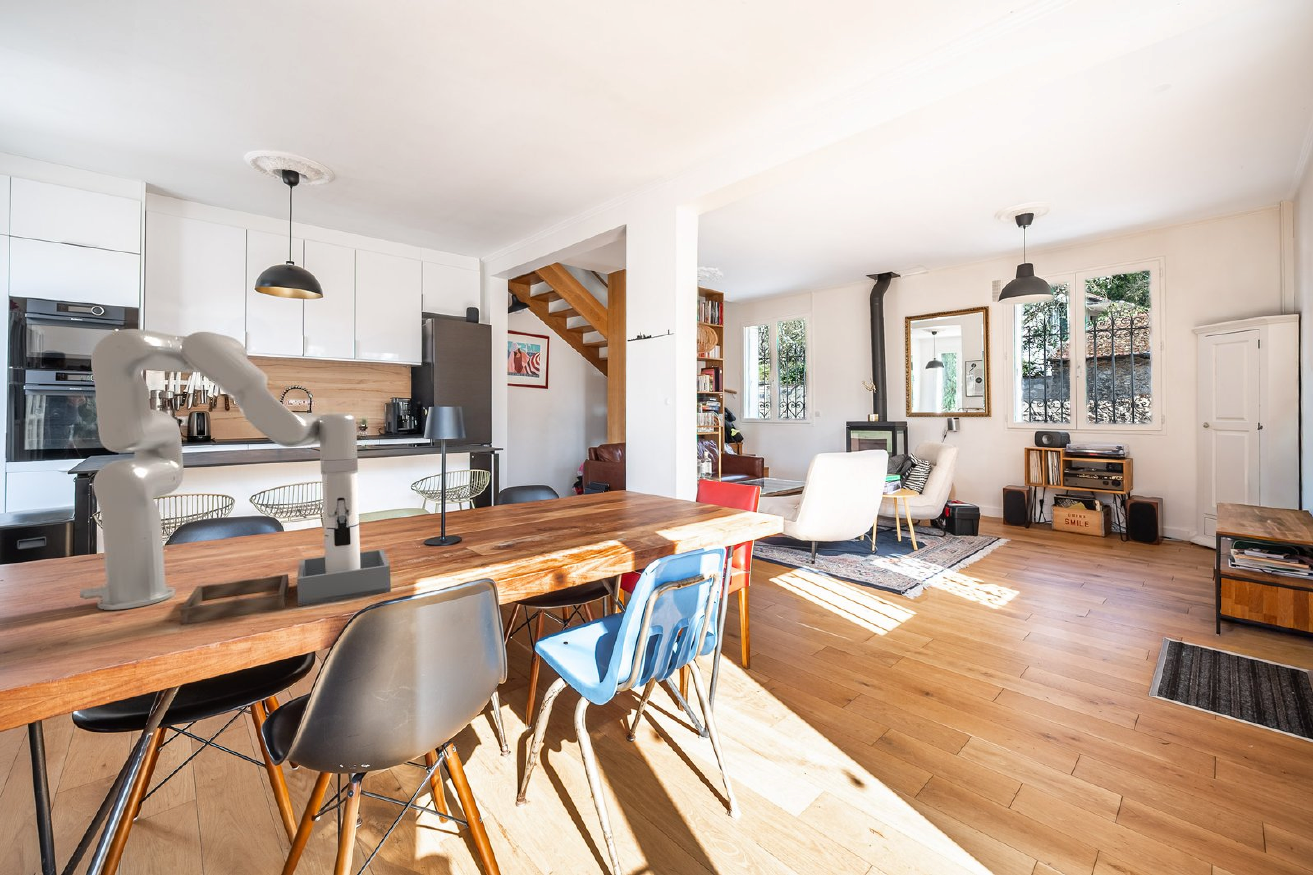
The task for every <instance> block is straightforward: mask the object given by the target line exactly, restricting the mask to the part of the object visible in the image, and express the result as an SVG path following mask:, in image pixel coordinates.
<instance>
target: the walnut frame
mask: <svg viewBox="0 0 1313 875" xmlns="http://www.w3.org/2000/svg"><path fill="white" fill-rule="evenodd" d="M289 581H290V580H289V573H287V574H279V575H271V576H264V577H263V576H262V577H256V578H250V579H249V578H248V579H243V580H242V579H241V580H233V581H227V582H220V583H212V584H204V585H198V586H196V587H195V588H194V590H193V591H192V592H191V594H190V596H189V597H188V599H187V600H185V603H184V604H183V605H182V607H181V608H180V610H179V611H180V615H179V616H180V625H187V624H188V625H189V624H191V623H193V624H194V623H200V622H207V621H211V620H219V619H224V618H225V619H226V618H229V617H230V618H231V617H237V616H238V617H239V616H243V615H249V614H254V613H255V614H256V613H262V612H268V611H274V610H280V609H285V608H286V602H287V598H288V594H289V593H288V592H289V588H290V585H289V584H290V582H289ZM274 590H278V593H274V594H267V595H260V596H253V597H246V598H241V599H235V600H234V599H233V600H227V601H226V600H225V601H221V602H214V603H207V604H202V602H203V601H208V600H211V599H212V600H213V599H218V598H225V597H226V598H227V597H233V596H239V595H247V594H254V593H260V592H266V591H267V592H268V591H274Z"/></svg>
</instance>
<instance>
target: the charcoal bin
mask: <svg viewBox="0 0 1313 875" xmlns="http://www.w3.org/2000/svg"><path fill="white" fill-rule="evenodd" d="M296 576H297V578H296V587H297V604H298V605H297V606H298V607H302V605H304V606H308V605H307V604H310V605H315V604H321V603H328V602H329V603H330V602H334V601H333V600H335V601H342V600H347V599H353V598H352V597H354V598H358V597H357V596H360V597H364V596H363V595H366V596H371V595H372V596H373V595H376V594H377V595H378V594H384V592H385V593H391V592H392V587H391V566H390V563H389V561H388V558H387V555H386V553H385V550H384V549H383V548H382V549H373V550H365V551H360V569H356V570H349V571H341V572H334V573H327V574H326V567H325V555H324V556H318V557H311V558H302V559H299V564H298V571H297V575H296ZM390 591H391V592H390Z"/></svg>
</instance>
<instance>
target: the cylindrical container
mask: <svg viewBox="0 0 1313 875" xmlns="http://www.w3.org/2000/svg"><path fill="white" fill-rule="evenodd" d="M351 478H352V513H351V515H350V516H349V517H348V518H349V527H350V540H351V544H350V545H344V546H335V543H334V529H335V517H334V516H335V513H334V515H333V516H331V518H329V517H328V516H327V475H324V474H321V481H322V482H321V483H322V484H321V485H322V508H323V510H322V511H323V533H324V535H323V536H324V556H325V567H326V574H327V573H334V572H341V571H349V570H356V569H360V552H361V546H360V545H361V544H360V541H361V540H360V521H359V517H360V516H359V513H360V512H359V488H358V487H359V486H358V472H356V473H351ZM337 500H338V499H337ZM344 507H345V500H344ZM346 509H347V508H346V507H345V514H346ZM348 513H349V510H348ZM336 515H339V510H338V508H337V509H336ZM348 515H349V514H348ZM337 519H338V518H337Z"/></svg>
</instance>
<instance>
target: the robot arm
mask: <svg viewBox="0 0 1313 875" xmlns="http://www.w3.org/2000/svg"><path fill="white" fill-rule="evenodd" d="M90 362H91V363H90V366H91V371H92V376H93V377H92V378H93V382H94V387H95V388H94V389H95V403H96V406H95V407H96V417H97V429H98V437H99V441H100V444H101V445H102V446H103V447H104V448H105V449H106V450H108V451H110V452H114V453H119V454H121V453H123V454H126V453H134V457H132V458H125V459H119V460H115V461H112V462H109V463H107V464H105V465H104V466H102V467H101V468H100V469H99V470H98V471H97V473H96V474H95V475H94V479H93V483H92V484H93V492H94V495H95V497H96V501H97V504H98V507H99V511H100V517H101V525H102V526H101V528H102V536H103V538H102V539H103V552H104V566H105V584H102V585H101V586H100V587H89V588H81V589H80V591H79V597H80V598H81V599H84V600H89V599H95V598H99V599H100V600H98V602H97V608H98V609H100V610H103V609H104V610H105V611H106V610H107V611H114V610H126V609H134V608H138V607H140V608H141V607H145V606H149V605H152V604H156V603H159V602H162V601H165V600H168V599H169V598H171V597H173V596H174V595H175V594H176V589H175V588H174V587H172V586H167V585H166V575H165V574H166V572H165V571H166V570H165V559H164V558H165V555H164V541H163V539H164V538H163V527H162V526H163V525H162V518H161V513H160V511H159V507H158V506H157V504H156V502H155V499H154V498H157V497H163V496H165V495H169V494H171V493H173V492H175V491H176V490H177V489H178V488H179V487H180V485H181V484H182V482H183V479H184V460H183V459H184V458H183V445H182V444H183V442H182V434H181V432H182V431H181V429H180V426H179V424H178V422H177V421H176V419H174V418H173V416H171V415H170V414H168V413H167V412H165V411H163V410H158V409H152V408H151V403H150V402H151V401H150V400H151V399H150V390H149V386H148V384H147V382H146V380H145V378H144V376H143V375H142V372H143V371H144V370H150V371H159V372H166V373H167V372H168V373H169V372H170V373H200V374H201V375H202V376H203V377H205V378H206V379H208V380H209V381H210V382H211V383H213V384H214V385H215V386H216V387H217V388H219V389H220V390H221V391H222V392H224V394H226V396H229V397H230V398H231V400H233V401H234V403H235V406H236V407H237V409H238V410H239V411H240V413H241V415H242V416H243V418H245V420H246V421H247V422H248V423H249V424H250V425H251V426H253V427H254V428H255V429H257V431H259V432H260V433H261V434H263V435H264V436H265V437H267V439H269V440H270V441H272V442H274V443H275V444H277V445H279V446H281V447H286V448H298V447H303V446H311V445H317V444H319V453H320V454H319V455H320V456H319V457H320V461H319V462H320V474H321V475H322V474H324V475H327V516H328V517H329V518H331V516H333V515H334V513H335V516H334V517H335V529H334V543H335V546H344V545H350V544H351V540H350V527H349V518H348V517H349V516H350V515H351V513H352V478H351V473H356V472H357V473H358V472H359V465H358V442H357V441H358V440H357V439H358V438H357V420H356V417H355V416H354V415H353V414H349V413H326V414H319V413H313V412H312V413H309V412H293V411H292V410H291V409H289V408H288V407H287V406H286V405H284V404H283V403H282V402H280V401H279V399H278V398H276V397H275V396H274V395H273V394H272V393H271V392H270V390H269V388H268V380H269V378H268V377H269V376H268V375H267V374H266V372H264V371H263V370H262V369H260V368H259V367H258V366H257V365H256V364H254V363H253V362H252V361H250V360H249V359H248V352H247V349H246V347H245V346H244V344H242V343H241V342H240V341H239V340H237V339H236V338H234V337H231V336H229V335H224V334H219V333H214V332H211V331H198V332H194V333H191V334H189V335H187V336H183V335H172V334H167V333H161V332H157V331H153V330H149V329H148V330H145V329H137V328H126V329H120V330H116V331H113V332H111V333H108V334H107V335H105V336H104V337H103V338H101V339H100V340H99V341H98V342H97V344H96V345H95V346H94V348H93V351H92V353H91V360H90ZM337 499H338V500H337ZM344 500H345V507H346V508H347V509H346V514H345V507H344ZM337 508H338V510H339V515H336V509H337ZM348 510H349V513H348ZM348 514H349V515H348ZM337 518H338V519H337Z"/></svg>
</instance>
